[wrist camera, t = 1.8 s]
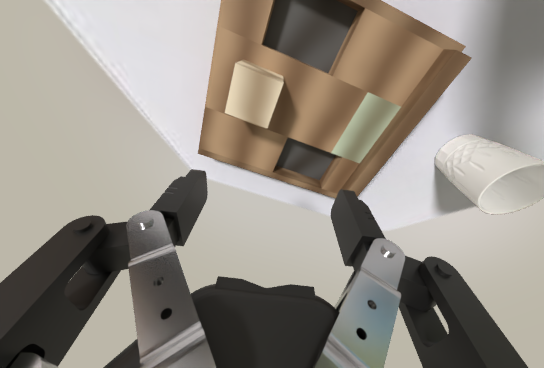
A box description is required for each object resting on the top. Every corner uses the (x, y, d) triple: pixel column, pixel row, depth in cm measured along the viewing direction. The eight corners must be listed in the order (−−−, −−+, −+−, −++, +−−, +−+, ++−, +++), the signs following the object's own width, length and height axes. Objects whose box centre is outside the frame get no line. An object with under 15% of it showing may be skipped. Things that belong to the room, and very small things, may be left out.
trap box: (204, 145, 33) (193, 159, 29) (239, -65, 19) (228, -93, 15) (340, 190, 37) (347, 208, 33) (447, 45, 24) (480, 46, 20)
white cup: (494, 151, 31) (568, 189, 23) (443, 181, 35) (491, 223, 27) (475, 119, 29) (551, 149, 21) (421, 155, 32) (467, 193, 24)
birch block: (233, 101, 26) (224, 112, 22) (243, 59, 23) (235, 63, 19) (269, 115, 27) (267, 128, 22) (283, 76, 24) (283, 83, 20)
